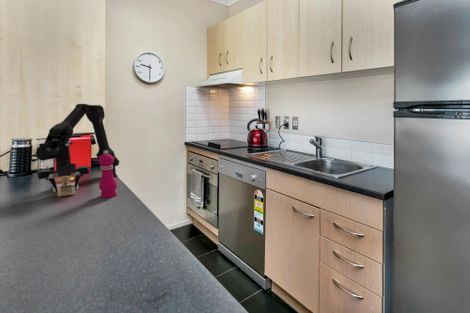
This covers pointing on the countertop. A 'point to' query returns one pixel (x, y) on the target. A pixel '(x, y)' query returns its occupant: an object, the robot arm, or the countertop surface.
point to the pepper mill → (107, 176)
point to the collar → (66, 190)
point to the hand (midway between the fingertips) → (66, 190)
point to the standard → (65, 181)
